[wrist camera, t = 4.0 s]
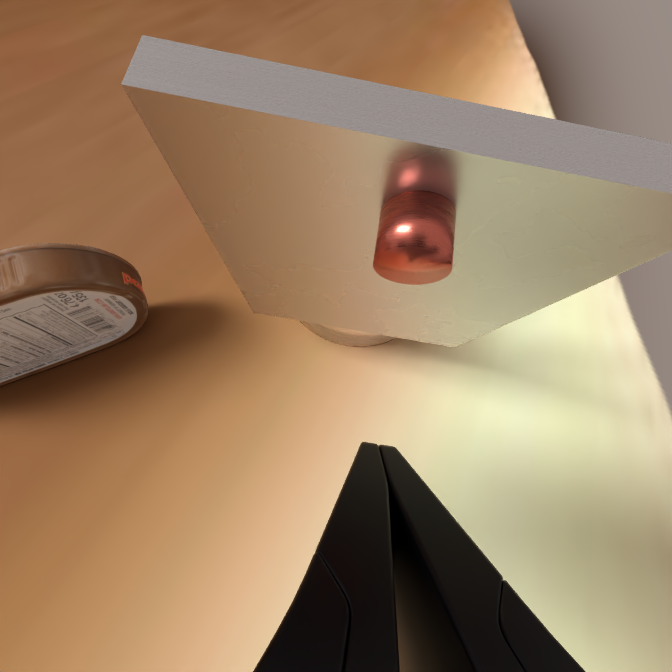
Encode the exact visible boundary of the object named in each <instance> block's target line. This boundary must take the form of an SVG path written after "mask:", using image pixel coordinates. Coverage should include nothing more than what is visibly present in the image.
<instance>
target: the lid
mask: <svg viewBox="0 0 672 672" xmlns="http://www.w3.org/2000/svg"><path fill="white" fill-rule="evenodd" d="M121 85H122V86H123V88H124V90H125V92H126V93H127V95H128V97H129V99H130V100H131V102H132V104H133V105H134V107H135V109H136V111H137V112H138V114H139V116H140V118H141V119H142V121H143V123H144V124H145V126H146V128H147V130H148V131H149V133H150V135H151V137H152V138H153V140H154V142H155V143H156V145H157V147H158V149H159V150H160V152H161V154H162V156H163V157H164V159H165V161H166V162H167V164H168V166H169V168H170V169H171V171H172V173H173V175H174V176H175V178H176V180H177V181H178V183H179V185H180V187H181V188H182V190H183V192H184V194H185V195H186V197H187V199H188V200H189V202H190V204H191V206H192V207H193V209H194V211H195V213H196V214H197V216H198V218H199V219H200V221H201V223H202V225H203V226H204V228H205V230H206V232H207V233H208V235H209V237H210V238H211V240H212V242H213V244H214V245H215V247H216V249H217V251H218V252H219V254H220V256H221V257H222V259H223V261H224V263H225V264H226V266H227V268H228V270H229V271H230V273H231V275H232V276H233V278H234V280H235V282H236V283H237V285H238V287H239V289H240V290H241V292H242V294H243V295H244V297H245V299H246V301H247V302H248V304H249V306H250V308H251V309H252V311H253V313H259V314H264V315H270V316H276V317H282V318H287V319H293V320H299V321H305V322H310V323H316V324H322V325H328V326H333V327H339V328H345V329H351V330H356V331H362V332H368V333H374V334H379V335H385V336H391V337H397V338H402V339H408V340H414V341H420V342H425V343H431V344H437V345H442V346H448V347H454V348H455V347H457V346H459V345H462V344H464V343H466V342H468V341H471V340H473V339H475V338H477V337H479V336H482V335H484V334H486V333H488V332H491V331H493V330H495V329H497V328H500V327H502V326H504V325H506V324H508V323H511V322H513V321H515V320H517V319H520V318H522V317H524V316H526V315H529V314H531V313H533V312H535V311H537V310H540V309H542V308H544V307H546V306H549V305H551V304H553V303H555V302H558V301H560V300H562V299H564V298H566V297H569V296H571V295H573V294H575V293H578V292H580V291H582V290H584V289H587V288H589V287H591V286H593V285H595V284H598V283H600V282H602V281H604V280H607V279H609V278H611V277H613V276H616V275H618V274H620V273H622V272H624V271H627V270H629V269H631V268H633V267H635V266H638V265H640V264H642V263H645V262H647V261H649V260H651V259H653V258H656V257H658V256H660V255H662V254H664V253H667V252H669V251H671V250H672V144H671V143H667V142H662V141H657V140H652V139H647V138H643V137H637V136H633V135H628V134H623V133H618V132H613V131H608V130H603V129H599V128H593V127H588V126H584V125H579V124H574V123H569V122H564V121H560V120H555V119H550V118H545V117H540V116H535V115H530V114H525V113H521V112H516V111H511V110H506V109H501V108H496V107H491V106H486V105H481V104H477V103H472V102H467V101H462V100H457V99H452V98H447V97H442V96H438V95H433V94H428V93H423V92H418V91H413V90H408V89H403V88H398V87H394V86H389V85H384V84H379V83H374V82H369V81H364V80H359V79H354V78H350V77H345V76H340V75H335V74H330V73H325V72H320V71H315V70H311V69H306V68H301V67H296V66H291V65H286V64H281V63H276V62H271V61H267V60H262V59H257V58H252V57H247V56H242V55H237V54H232V53H227V52H223V51H218V50H213V49H208V48H203V47H198V46H193V45H188V44H183V43H179V42H174V41H169V40H164V39H159V38H154V37H149V36H144V35H142V37H141V39H140V42H139V44H138V46H137V49H136V51H135V53H134V56H133V58H132V60H131V63H130V65H129V67H128V70H127V72H126V74H125V77H124V79H123V81H122V84H121Z"/></svg>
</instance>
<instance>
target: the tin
mask: <svg viewBox="0 0 672 672" xmlns="http://www.w3.org/2000/svg"><path fill="white" fill-rule="evenodd" d="M147 316H148V304H147V300H146V297H145V294H144V291H143V289H142V281H141V277H140V275H139V273H138V272H137V270H136V269H135V268H134V267H133V266H132V265H131V264H130V263H129V262H127V261H126V260H124V259H123V258H121V257H119V256H117V255H115V254H112V253H109V252H107V251H104V250H101V249H97V248H93V247H89V246H82V245H74V244H60V243H47V244H30V245H23V246H17V247H12V248H8V249H3V250H0V386H2V385H5V384H7V383H10V382H13V381H16V380H18V379H21V378H24V377H27V376H30V375H32V374H35V373H38V372H41V371H44V370H47V369H49V368H52V367H55V366H58V365H60V364H63V363H66V362H69V361H71V360H74V359H77V358H80V357H82V356H85V355H88V354H90V353H93V352H96V351H99V350H101V349H104V348H107V347H109V346H112V345H114V344H117V343H119V342H121V341H123V340H125V339H126V338H128V337H130V336H131V335H132V334H134V333H135V332H137V331H138V330H139V329H140V328H141V327H142V325H143V324H144V323H145V321H146V319H147Z"/></svg>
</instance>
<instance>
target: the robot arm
mask: <svg viewBox="0 0 672 672" xmlns="http://www.w3.org/2000/svg"><path fill="white" fill-rule="evenodd" d="M502 580H503V578H502V575H501V574H500V573H499V572H498V570H497V569H496V568H495V567H494V566H493V564H492V563H491V562H490V561H489V560H488V558H487V557H486V556H485V555H484V554H483V552H482V551H481V550H480V549H479V548H478V546H477V545H476V544H475V543H474V542H473V540H472V539H471V538H470V537H469V535H468V534H467V533H466V532H465V531H464V529H463V528H462V527H461V526H460V525H459V523H458V522H457V521H456V520H455V519H454V517H453V516H452V515H451V514H450V513H449V511H448V510H447V509H446V508H445V507H444V505H443V504H442V503H441V502H440V500H439V499H438V498H437V497H436V496H435V494H434V493H433V492H432V491H431V490H430V488H429V487H428V486H427V485H426V484H425V482H424V481H423V480H422V479H421V478H420V476H419V475H418V474H417V473H416V471H415V470H414V469H413V468H412V467H411V465H410V464H409V463H408V462H407V461H406V459H405V458H404V457H403V456H402V455H401V453H400V452H399V451H398V450H397V449H396V448H395V447H393V446H386V445H379V446H378V445H377V444H374V443H367V442H362V443H361V445H360V447H359V450H358V452H357V454H356V457H355V459H354V461H353V464H352V466H351V468H350V471H349V473H348V475H347V478H346V480H345V483H344V485H343V487H342V490H341V492H340V494H339V497H338V499H337V501H336V504H335V506H334V509H333V511H332V513H331V516H330V518H329V520H328V523H327V525H326V527H325V530H324V532H323V535H322V537H321V539H320V542H319V544H318V546H317V549H316V552H315V554H314V555H313V558H312V560H311V562H310V565H309V567H308V569H307V572H306V574H305V576H304V578H303V581H302V583H301V585H300V587H299V589H298V591H297V593H296V596H295V598H294V600H293V602H292V604H291V606H290V607H289V609H288V611H287V613H286V615H285V617H284V618H283V620H282V622H281V624H280V626H279V628H278V629H277V631H276V633H275V635H274V637H273V638H272V640H271V642H270V644H269V645H268V647H267V649H266V650H265V652H264V654H263V656H262V657H261V659H260V661H259V662H258V664H257V666H256V668H255V669H254V671H253V672H585V671H584V670H583V668H582V667H581V666H580V665H579V664H578V663H577V662H576V661H575V660H574V659H573V657H572V656H571V655H570V654H569V653H568V652H567V651H566V650H565V649H564V648H563V646H562V645H561V644H560V643H559V642H558V641H557V640H556V639H555V638H554V637H553V635H552V634H551V633H550V632H549V631H548V630H547V628H546V627H545V626H544V625H543V624H542V623H541V621H540V620H539V619H538V618H537V617H536V616H535V614H534V613H533V612H532V611H531V610H530V609H529V607H528V606H527V605H526V604H525V603H524V602H523V600H522V599H521V598H520V597H519V596H518V594H517V593H516V592H515V591H514V590H513V588H512V587H511V586H510V585H509V584H508V582H507V581H505V580H503V581H502Z"/></svg>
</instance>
